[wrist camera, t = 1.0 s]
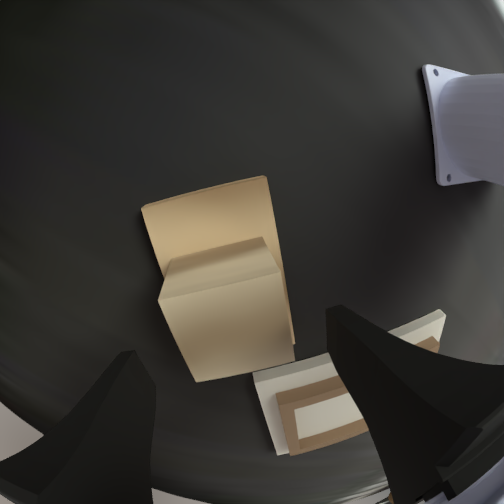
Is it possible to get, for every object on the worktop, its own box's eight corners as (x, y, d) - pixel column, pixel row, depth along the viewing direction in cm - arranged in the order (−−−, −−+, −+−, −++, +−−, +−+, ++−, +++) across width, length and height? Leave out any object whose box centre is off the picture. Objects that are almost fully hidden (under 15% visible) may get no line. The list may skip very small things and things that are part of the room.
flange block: (146, 203, 13) (112, 234, 8) (262, 174, 13) (289, 190, 9) (200, 352, 17) (200, 416, 12) (290, 332, 17) (314, 391, 12)
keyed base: (439, 308, 19) (454, 322, 16) (411, 398, 24) (420, 411, 21) (252, 372, 18) (257, 396, 16) (275, 447, 23) (279, 464, 21)
